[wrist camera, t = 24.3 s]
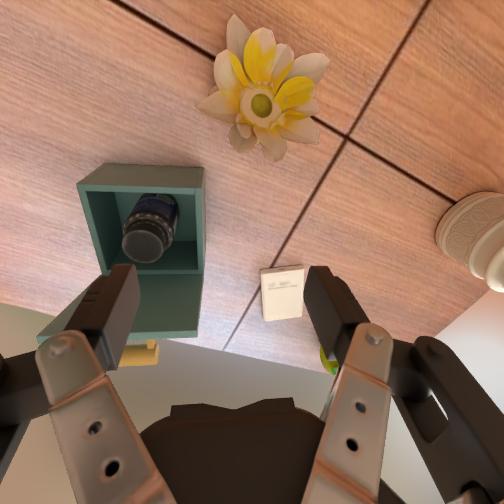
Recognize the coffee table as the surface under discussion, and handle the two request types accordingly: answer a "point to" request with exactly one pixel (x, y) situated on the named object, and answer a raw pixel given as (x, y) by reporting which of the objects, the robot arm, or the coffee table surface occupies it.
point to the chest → (124, 200)
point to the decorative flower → (264, 91)
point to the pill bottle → (150, 227)
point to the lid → (151, 314)
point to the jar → (476, 236)
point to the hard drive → (282, 292)
